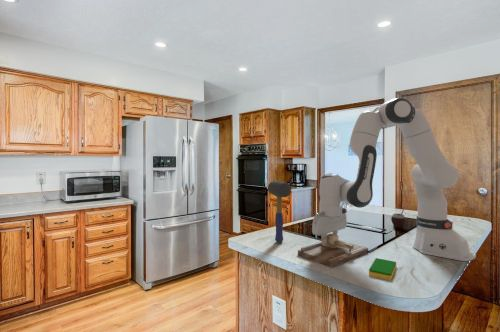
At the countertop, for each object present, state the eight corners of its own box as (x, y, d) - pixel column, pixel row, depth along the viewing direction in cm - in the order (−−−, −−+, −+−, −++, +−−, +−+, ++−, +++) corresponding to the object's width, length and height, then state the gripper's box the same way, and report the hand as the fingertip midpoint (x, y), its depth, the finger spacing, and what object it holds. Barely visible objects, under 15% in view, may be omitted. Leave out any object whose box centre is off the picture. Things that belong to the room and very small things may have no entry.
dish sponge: (396, 267, 105) (396, 261, 105) (391, 281, 94) (391, 274, 94) (375, 263, 109) (376, 257, 109) (368, 276, 98) (368, 269, 98)
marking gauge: (355, 251, 115) (355, 239, 115) (349, 253, 113) (349, 241, 113) (326, 243, 126) (326, 232, 126) (321, 245, 124) (321, 234, 124)
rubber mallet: (292, 245, 131) (292, 181, 130) (278, 247, 129) (278, 182, 128) (279, 238, 143) (279, 179, 142) (266, 239, 140) (266, 180, 139)
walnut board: (370, 253, 120) (370, 245, 120) (333, 268, 104) (333, 259, 104) (334, 243, 134) (334, 236, 134) (297, 255, 118) (297, 247, 118)
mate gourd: (388, 227, 164) (388, 202, 163) (397, 226, 167) (398, 201, 166) (400, 230, 157) (400, 204, 156) (409, 228, 160) (409, 202, 160)
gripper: (320, 214, 114) (320, 248, 114) (349, 208, 126) (349, 239, 127) (308, 212, 119) (308, 244, 119) (337, 207, 131) (337, 236, 132)
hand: (329, 241), depth 123 cm, fingers closed on marking gauge, 4 cm apart
